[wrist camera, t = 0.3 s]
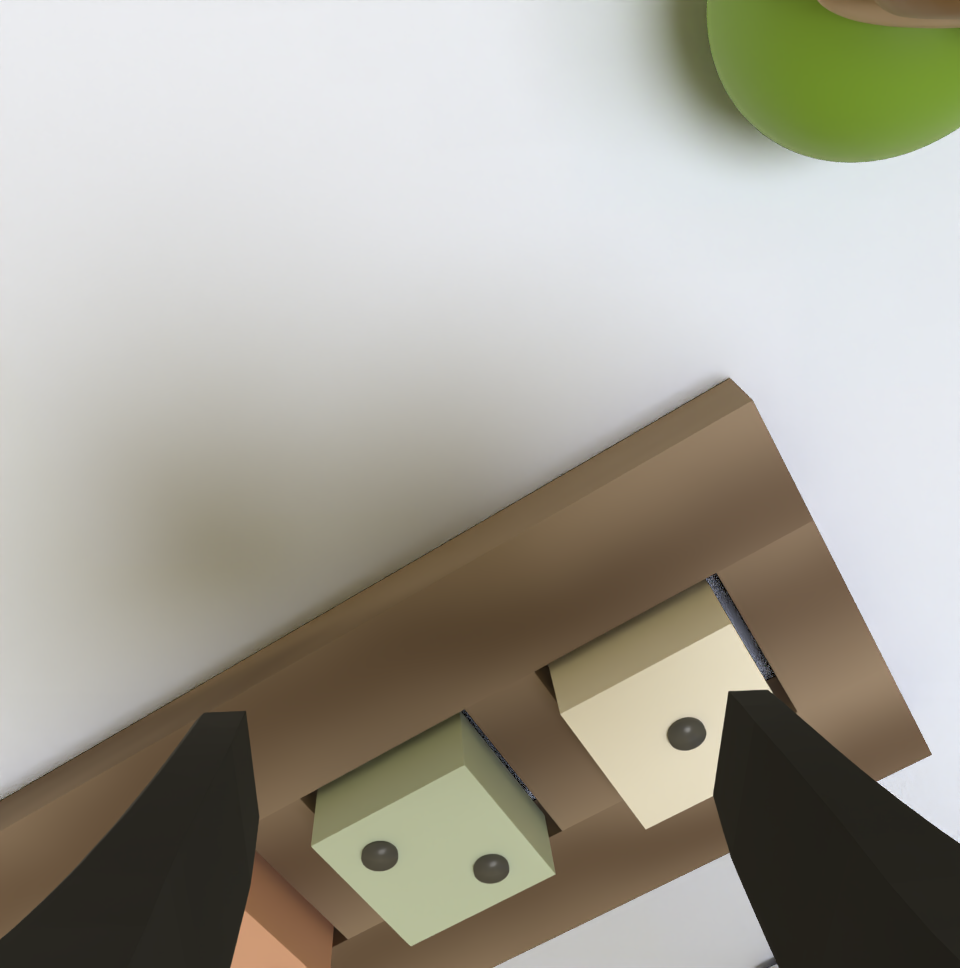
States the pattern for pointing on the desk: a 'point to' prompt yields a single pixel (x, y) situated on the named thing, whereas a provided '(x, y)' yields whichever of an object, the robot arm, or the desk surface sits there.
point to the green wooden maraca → (841, 72)
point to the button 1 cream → (657, 700)
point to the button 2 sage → (432, 831)
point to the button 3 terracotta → (280, 926)
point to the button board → (512, 684)
